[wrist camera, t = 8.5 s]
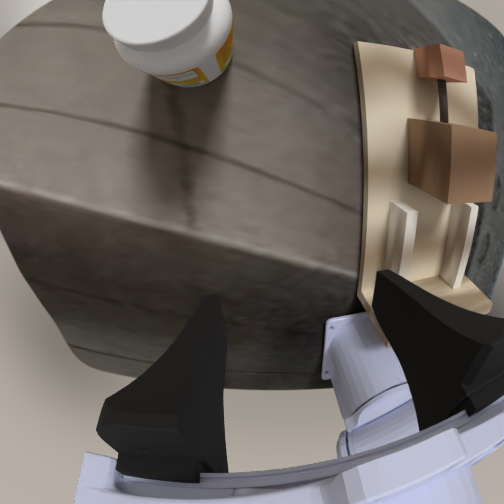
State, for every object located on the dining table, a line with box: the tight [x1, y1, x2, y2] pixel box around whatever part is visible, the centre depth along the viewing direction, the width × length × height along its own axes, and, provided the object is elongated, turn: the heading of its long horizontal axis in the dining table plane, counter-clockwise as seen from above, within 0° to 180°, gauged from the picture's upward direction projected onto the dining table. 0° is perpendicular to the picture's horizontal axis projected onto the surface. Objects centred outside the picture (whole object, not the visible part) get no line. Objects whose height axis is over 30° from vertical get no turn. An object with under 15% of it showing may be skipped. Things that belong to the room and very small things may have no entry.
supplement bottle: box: [102, 0, 234, 87], centre depth 10 cm, size 5×5×10 cm
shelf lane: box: [353, 42, 493, 348], centre depth 16 cm, size 21×12×7 cm, turn 7°
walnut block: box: [408, 44, 497, 204], centre depth 14 cm, size 11×5×5 cm, turn 7°
